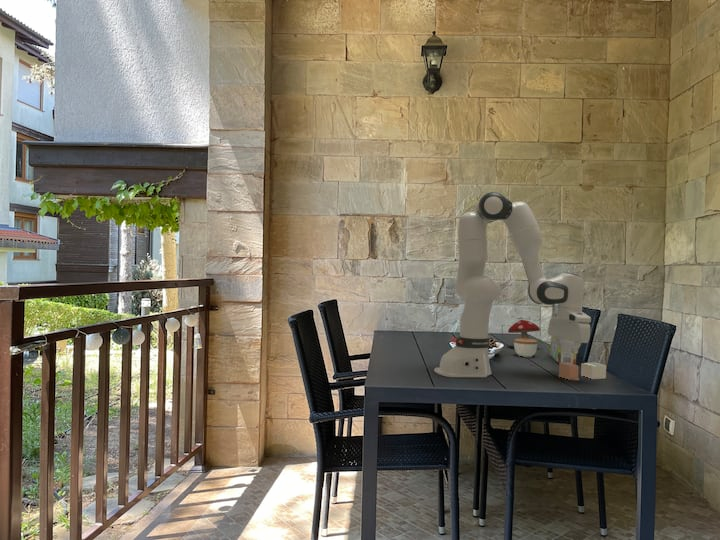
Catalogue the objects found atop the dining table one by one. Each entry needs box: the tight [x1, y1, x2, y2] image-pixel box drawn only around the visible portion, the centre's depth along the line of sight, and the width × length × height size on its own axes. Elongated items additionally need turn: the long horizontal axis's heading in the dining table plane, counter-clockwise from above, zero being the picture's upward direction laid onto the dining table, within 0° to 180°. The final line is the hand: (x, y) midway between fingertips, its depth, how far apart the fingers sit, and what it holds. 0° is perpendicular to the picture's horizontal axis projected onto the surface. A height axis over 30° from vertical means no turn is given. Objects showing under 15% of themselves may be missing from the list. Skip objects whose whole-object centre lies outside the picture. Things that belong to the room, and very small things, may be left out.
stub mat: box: [558, 375, 580, 381], centre depth 199 cm, size 4×7×1 cm, turn 16°
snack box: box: [550, 304, 577, 365], centre depth 238 cm, size 22×9×26 cm, turn 168°
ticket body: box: [580, 362, 607, 380], centre depth 202 cm, size 6×6×5 cm
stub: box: [558, 363, 579, 379], centre depth 199 cm, size 4×6×5 cm, turn 16°
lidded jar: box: [513, 337, 538, 358], centre depth 247 cm, size 11×11×9 cm
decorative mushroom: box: [507, 319, 541, 339], centre depth 270 cm, size 16×16×15 cm
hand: (566, 350), depth 199 cm, fingers open, 8 cm apart
